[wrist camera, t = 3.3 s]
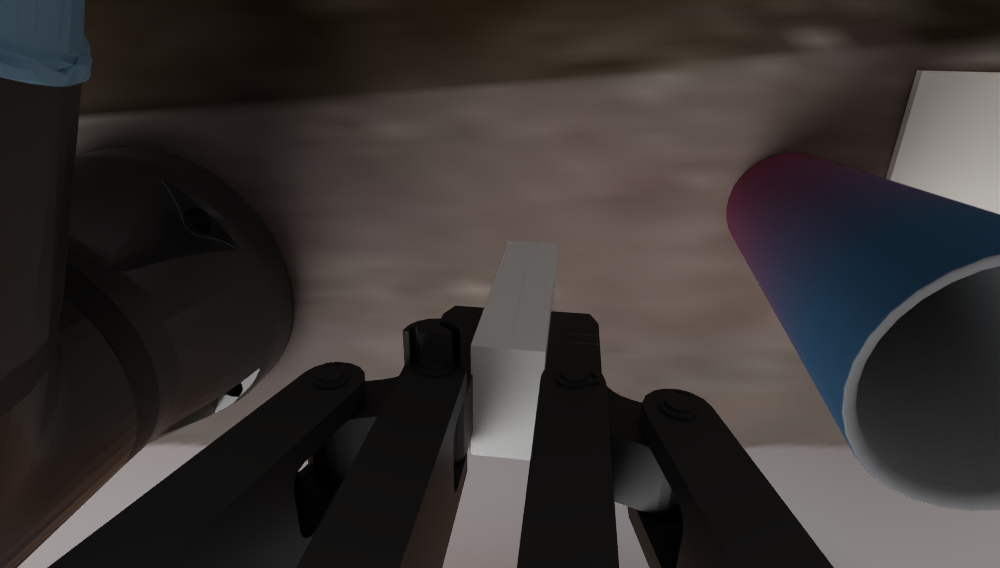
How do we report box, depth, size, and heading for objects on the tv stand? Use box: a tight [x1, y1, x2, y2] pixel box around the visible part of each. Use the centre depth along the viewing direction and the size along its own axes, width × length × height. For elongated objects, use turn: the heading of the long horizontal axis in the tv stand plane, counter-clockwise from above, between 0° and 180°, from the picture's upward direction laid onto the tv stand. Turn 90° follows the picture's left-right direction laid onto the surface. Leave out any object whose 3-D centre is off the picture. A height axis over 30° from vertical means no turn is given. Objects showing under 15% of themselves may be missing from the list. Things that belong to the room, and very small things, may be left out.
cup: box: [727, 153, 1000, 511], centre depth 19 cm, size 7×7×15 cm
